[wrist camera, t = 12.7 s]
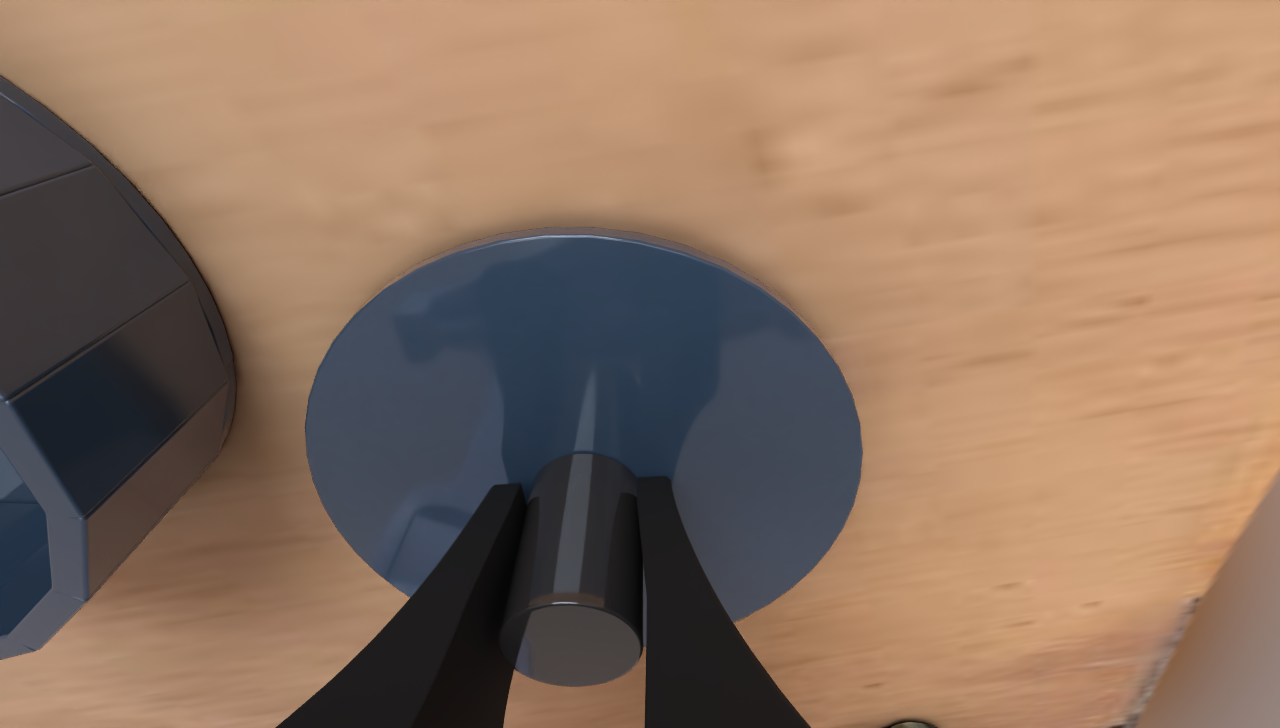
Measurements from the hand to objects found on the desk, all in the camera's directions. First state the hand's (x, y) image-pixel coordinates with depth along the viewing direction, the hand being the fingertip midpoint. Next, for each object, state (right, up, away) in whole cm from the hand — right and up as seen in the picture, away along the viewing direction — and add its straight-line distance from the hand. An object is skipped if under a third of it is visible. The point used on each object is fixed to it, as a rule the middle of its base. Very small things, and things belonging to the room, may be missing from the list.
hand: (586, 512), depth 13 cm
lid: (0, +1, +1) cm, 1 cm away
